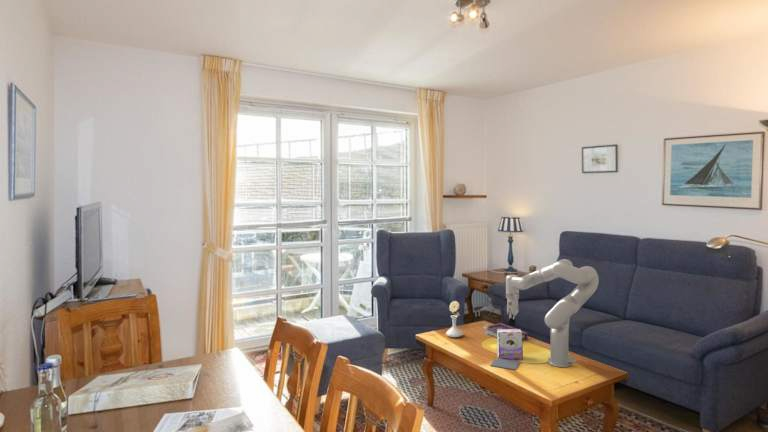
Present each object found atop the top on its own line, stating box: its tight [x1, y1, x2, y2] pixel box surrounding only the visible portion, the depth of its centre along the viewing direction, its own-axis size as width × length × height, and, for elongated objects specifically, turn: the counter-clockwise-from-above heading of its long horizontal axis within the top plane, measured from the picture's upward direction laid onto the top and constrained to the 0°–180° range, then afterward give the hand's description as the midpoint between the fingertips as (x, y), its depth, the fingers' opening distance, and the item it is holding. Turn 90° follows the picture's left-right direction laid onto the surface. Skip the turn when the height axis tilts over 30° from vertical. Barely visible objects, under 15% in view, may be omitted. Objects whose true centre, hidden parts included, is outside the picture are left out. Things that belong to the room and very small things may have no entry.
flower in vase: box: [445, 300, 464, 338], centre depth 301 cm, size 13×11×25 cm
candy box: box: [496, 328, 524, 360], centre depth 261 cm, size 14×6×16 cm, turn 84°
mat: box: [489, 357, 521, 371], centre depth 251 cm, size 14×12×1 cm
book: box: [482, 322, 528, 341], centre depth 299 cm, size 25×16×5 cm, turn 27°
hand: (512, 325), depth 268 cm, fingers closed
